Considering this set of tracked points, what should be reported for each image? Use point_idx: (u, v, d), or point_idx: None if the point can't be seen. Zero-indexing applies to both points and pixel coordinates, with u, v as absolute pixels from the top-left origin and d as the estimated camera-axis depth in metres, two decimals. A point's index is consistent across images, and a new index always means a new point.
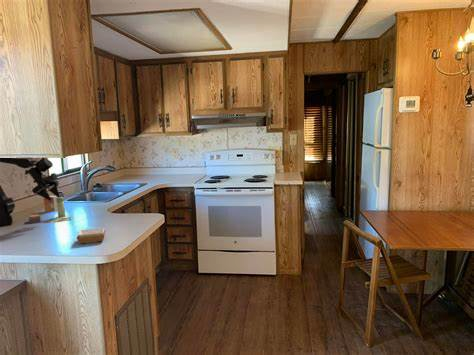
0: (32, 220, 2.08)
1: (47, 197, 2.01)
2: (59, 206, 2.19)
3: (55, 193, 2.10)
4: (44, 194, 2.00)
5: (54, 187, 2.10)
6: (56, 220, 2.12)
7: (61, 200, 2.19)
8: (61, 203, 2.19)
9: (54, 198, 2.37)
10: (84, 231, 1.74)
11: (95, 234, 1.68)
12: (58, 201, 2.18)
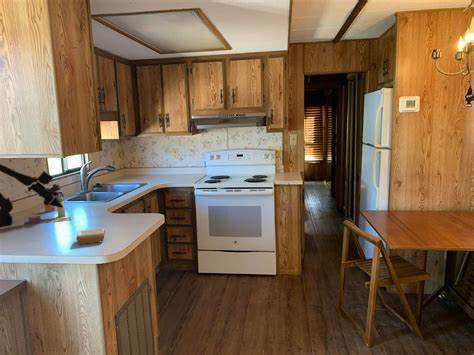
0: (32, 220, 2.08)
1: (59, 205, 2.17)
2: None
3: None
4: (56, 203, 2.16)
5: (56, 198, 2.22)
6: (56, 220, 2.12)
7: (61, 200, 2.19)
8: (61, 203, 2.19)
9: None
10: (83, 232, 1.73)
11: (95, 234, 1.67)
12: (58, 201, 2.18)
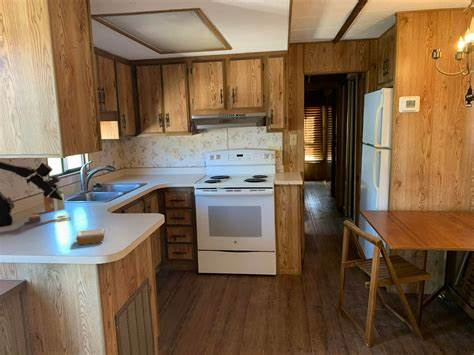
0: (32, 220, 2.08)
1: (58, 197, 2.13)
2: None
3: None
4: (55, 195, 2.12)
5: None
6: (56, 220, 2.12)
7: (61, 192, 2.14)
8: (61, 195, 2.14)
9: (54, 198, 2.37)
10: (83, 232, 1.72)
11: (95, 235, 1.67)
12: (58, 193, 2.13)
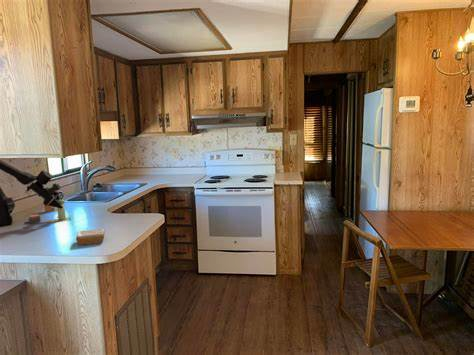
0: (32, 220, 2.08)
1: (58, 206, 2.08)
2: (59, 209, 2.11)
3: None
4: (55, 204, 2.07)
5: (57, 197, 2.15)
6: (56, 220, 2.12)
7: (62, 202, 2.11)
8: None
9: None
10: (83, 232, 1.72)
11: (95, 235, 1.67)
12: None
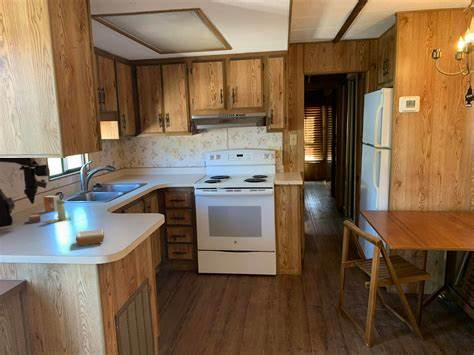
0: (32, 220, 2.08)
1: (31, 200, 2.06)
2: (59, 209, 2.11)
3: None
4: (31, 196, 2.06)
5: None
6: (56, 220, 2.12)
7: (62, 202, 2.11)
8: (62, 206, 2.11)
9: (54, 198, 2.37)
10: (82, 233, 1.71)
11: (95, 235, 1.66)
12: (58, 203, 2.10)
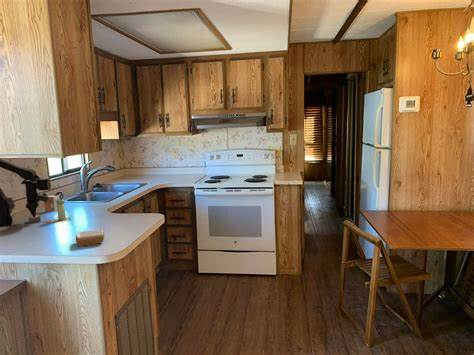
0: (32, 220, 2.08)
1: (33, 213, 2.10)
2: (59, 209, 2.11)
3: None
4: (33, 210, 2.09)
5: None
6: (56, 220, 2.12)
7: (62, 203, 2.11)
8: (61, 206, 2.11)
9: (54, 198, 2.37)
10: (82, 233, 1.70)
11: (95, 236, 1.65)
12: (58, 204, 2.10)
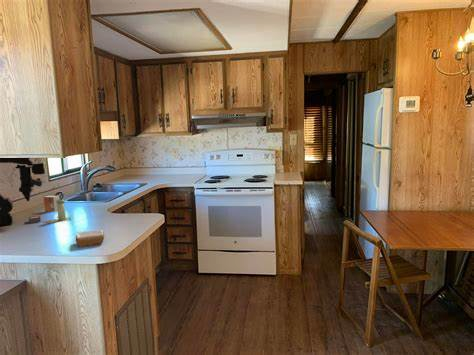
0: (32, 220, 2.08)
1: (27, 198, 2.12)
2: (59, 209, 2.11)
3: None
4: (26, 194, 2.11)
5: None
6: (56, 220, 2.12)
7: (62, 202, 2.11)
8: (62, 205, 2.11)
9: (54, 198, 2.37)
10: (81, 234, 1.70)
11: (95, 236, 1.65)
12: (58, 203, 2.10)
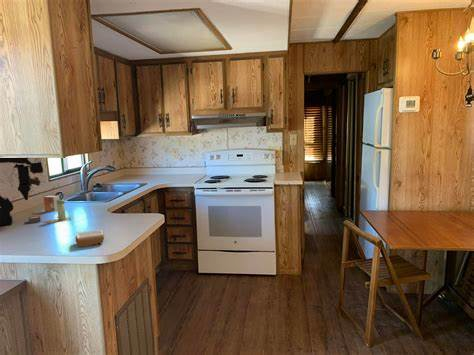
0: (32, 220, 2.08)
1: (25, 197, 2.13)
2: (60, 209, 2.11)
3: None
4: (25, 193, 2.12)
5: None
6: (56, 220, 2.12)
7: (62, 202, 2.11)
8: (62, 206, 2.11)
9: (54, 198, 2.37)
10: (81, 234, 1.69)
11: (95, 236, 1.65)
12: (59, 203, 2.10)
